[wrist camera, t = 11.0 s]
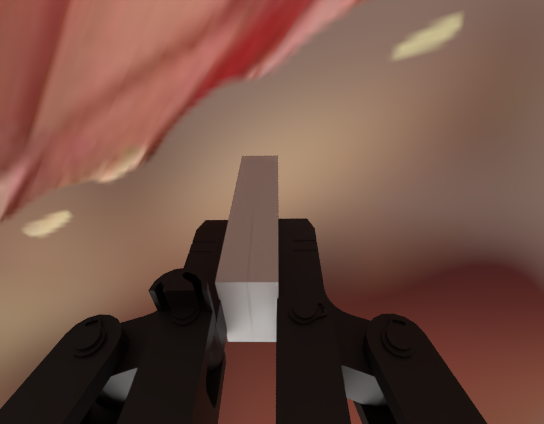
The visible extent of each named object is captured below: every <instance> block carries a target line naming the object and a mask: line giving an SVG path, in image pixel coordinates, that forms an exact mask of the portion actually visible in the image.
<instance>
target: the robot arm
mask: <svg viewBox="0 0 544 424" xmlns="http://www.w3.org/2000/svg"><path fill="white" fill-rule="evenodd" d="M149 293H150V295H151V297H152V299H153V301H154V304H155V306H156V308H157V311H155V312H154V313H151V314H149V315H146V316H143V317H139V318H136V319H133V320H129V321H126V322H122V323H120V322H119V320H118V319H117V318H115V317H113V316H111V315H96V316H93V317H90V318H87V319H85V320H83V321H82V322H80V323H78V324H76V325H75V326H74V327H73V328H72V329H71V330H70V331H69V332H67V333H66V334H65V335H64V337H63V338H62V339H61V340H60V341H59V342H58V343H57V345H56V346H55V347H54V348H53V349H52V351H51V352H50V353H49V354H48V355H47V356H46V357H45V358H44V360H43V361H42V362H41V363H40V364H39V365H38V366H37V368H36V369H35V370H34V371H33V372H32V373H31V375H30V376H29V377H28V378H27V379H26V380H25V381H24V383H23V384H22V385H21V386H20V387H19V388H18V389H17V391H16V392H15V393H14V394H13V395H12V396H11V397H10V399H9V400H8V401H7V402H6V403H5V404H4V406H3V407H2V408H1V409H0V424H218V417H219V410H220V403H221V395H222V388H223V381H224V374H225V366H226V355H225V351H224V348H225V342H226V335H227V338H228V341H229V342H276V424H351V421H350V415H349V409H348V403H347V398H348V399H351V400H353V402H354V404H355V407H356V409H357V412H358V414H359V417H360V419H361V422H362V424H487V423H486V421H485V420H484V418H483V417H482V415H481V414H480V413H479V411H478V410H477V408H476V407H475V405H474V404H473V402H472V401H471V400H470V398H469V397H468V395H467V394H466V392H465V391H464V389H463V388H462V386H461V385H460V384H459V382H458V381H457V379H456V378H455V376H454V375H453V373H452V372H451V371H450V369H449V368H448V366H447V365H446V363H445V362H444V360H443V359H442V358H441V356H440V355H439V353H438V352H437V350H436V349H435V347H434V346H433V345H432V343H431V342H430V340H429V339H428V337H427V336H426V334H425V333H424V332H423V331H422V330H421V329H420V328H419V327H418V326H417V325H416V324H415V323H414V322H412V321H410V320H409V319H407V318H405V317H403V316H399V315H396V314H381V315H379V316H377V317H375V318H373V320H372V321H369V320H366V319H363V318H360V317H356V316H353V315H350V314H348V313H345V312H343V311H341V310H340V309H338V308H337V307H335V306H334V305H333V304H332V303H331V302H330V300H329V299H328V297H327V295H326V293H325V290H324V285H323V278H322V272H321V266H320V260H319V253H318V247H317V242H316V234H315V228H314V227H313V226H312V224H311V223H310V222H309V221H308V219H278V156H242V159H241V164H240V169H239V173H238V178H237V182H236V187H235V192H234V197H233V201H232V206H231V210H230V215H229V220H206V221H205V222H204V223H203V224H202V225H201V226H200V227H199V228H198V229H197V230H196V233H195V236H194V239H193V244H192V245H191V248H190V251H189V254H188V257H187V260H186V263H185V265H184V268H181V269H175V270H172V271H170V272H168V273H165V274H163V275H162V276H161V277H160V278H158V279H157V280H156V281H155V282H154V283H153V285H152V286H151V288H150V289H149Z"/></svg>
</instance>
